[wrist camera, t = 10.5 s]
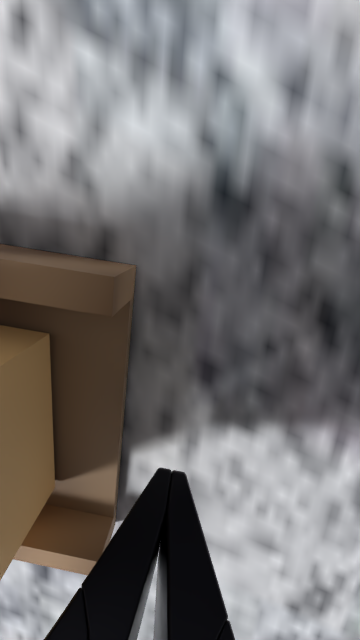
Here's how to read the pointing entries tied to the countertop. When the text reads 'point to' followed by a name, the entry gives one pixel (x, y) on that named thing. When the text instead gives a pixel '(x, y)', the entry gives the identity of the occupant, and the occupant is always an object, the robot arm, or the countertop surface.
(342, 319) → the countertop surface
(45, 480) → the tan cardboard box
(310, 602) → the countertop surface
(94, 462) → the bay
